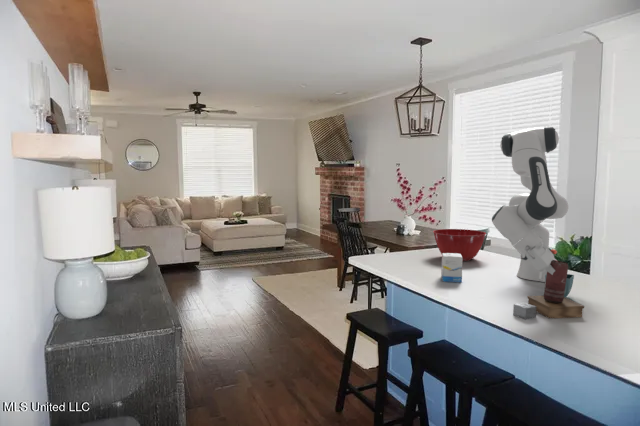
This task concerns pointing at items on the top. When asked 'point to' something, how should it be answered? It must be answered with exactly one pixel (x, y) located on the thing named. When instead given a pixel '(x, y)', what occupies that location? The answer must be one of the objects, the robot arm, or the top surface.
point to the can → (556, 282)
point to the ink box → (451, 267)
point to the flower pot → (567, 284)
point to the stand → (556, 307)
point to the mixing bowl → (459, 241)
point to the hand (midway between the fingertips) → (558, 274)
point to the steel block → (524, 310)
